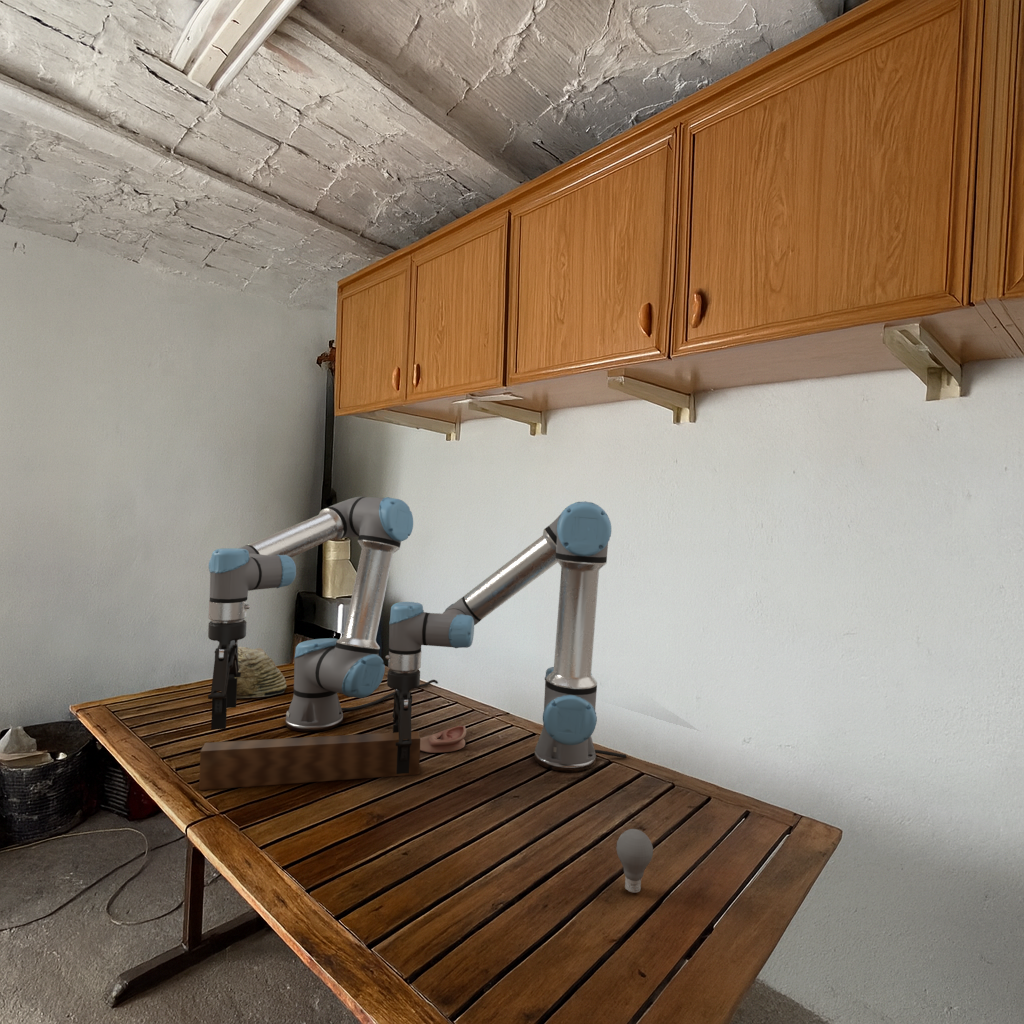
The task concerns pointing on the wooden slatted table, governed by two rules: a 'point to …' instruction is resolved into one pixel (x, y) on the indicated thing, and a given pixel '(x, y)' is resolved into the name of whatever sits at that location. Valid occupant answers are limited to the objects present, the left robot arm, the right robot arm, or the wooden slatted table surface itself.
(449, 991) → the wooden slatted table surface
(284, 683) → the fossil
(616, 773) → the wooden slatted table surface
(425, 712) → the wooden slatted table surface
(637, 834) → the light bulb
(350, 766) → the plank
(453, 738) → the anatomical model
